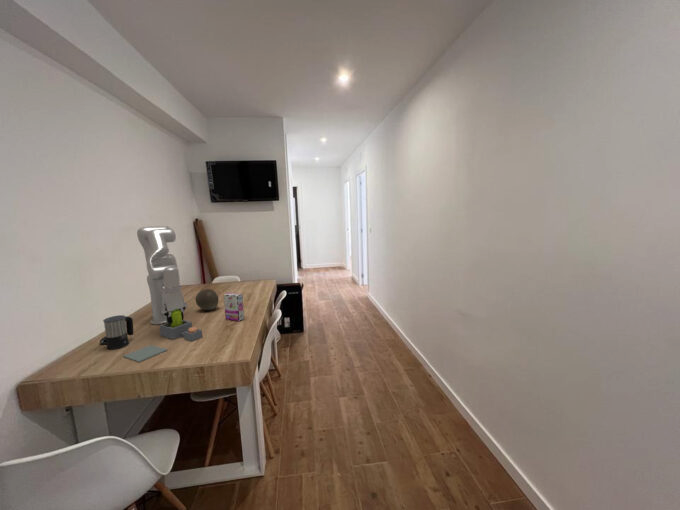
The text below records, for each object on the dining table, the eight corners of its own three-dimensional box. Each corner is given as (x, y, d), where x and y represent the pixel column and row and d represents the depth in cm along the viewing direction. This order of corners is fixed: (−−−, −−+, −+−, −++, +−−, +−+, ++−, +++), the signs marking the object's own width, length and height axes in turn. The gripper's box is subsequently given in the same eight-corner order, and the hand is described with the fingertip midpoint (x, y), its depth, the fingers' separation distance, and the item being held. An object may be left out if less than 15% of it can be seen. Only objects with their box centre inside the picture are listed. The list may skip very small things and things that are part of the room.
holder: (160, 336, 162) (159, 325, 162) (179, 329, 172) (178, 319, 172) (187, 343, 152) (186, 332, 151) (206, 335, 162) (205, 324, 161)
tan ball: (187, 334, 157) (186, 328, 157) (193, 331, 161) (193, 326, 161) (192, 335, 156) (191, 330, 155) (198, 332, 159) (198, 327, 159)
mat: (123, 356, 139) (123, 355, 139) (151, 345, 150) (151, 344, 150) (139, 362, 133) (139, 361, 133) (167, 350, 144) (167, 349, 144)
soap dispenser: (172, 332, 168) (168, 298, 164) (185, 331, 168) (181, 297, 165) (167, 336, 162) (163, 301, 159) (180, 335, 162) (176, 300, 159)
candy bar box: (244, 319, 187) (242, 293, 185) (239, 321, 182) (237, 295, 180) (230, 317, 191) (228, 292, 189) (225, 319, 187) (223, 294, 185)
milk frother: (122, 349, 147) (118, 320, 145) (87, 352, 145) (83, 323, 143) (137, 337, 161) (134, 311, 159) (105, 340, 159) (102, 313, 157)
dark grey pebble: (212, 306, 216) (210, 286, 214) (223, 309, 208) (221, 288, 206) (193, 311, 205) (191, 290, 203) (204, 315, 197) (202, 293, 195)
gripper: (182, 285, 171) (185, 315, 173) (152, 292, 156) (156, 325, 158) (191, 286, 168) (193, 317, 170) (161, 294, 152) (164, 327, 155)
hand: (175, 321), depth 164 cm, fingers closed on soap dispenser, 5 cm apart
